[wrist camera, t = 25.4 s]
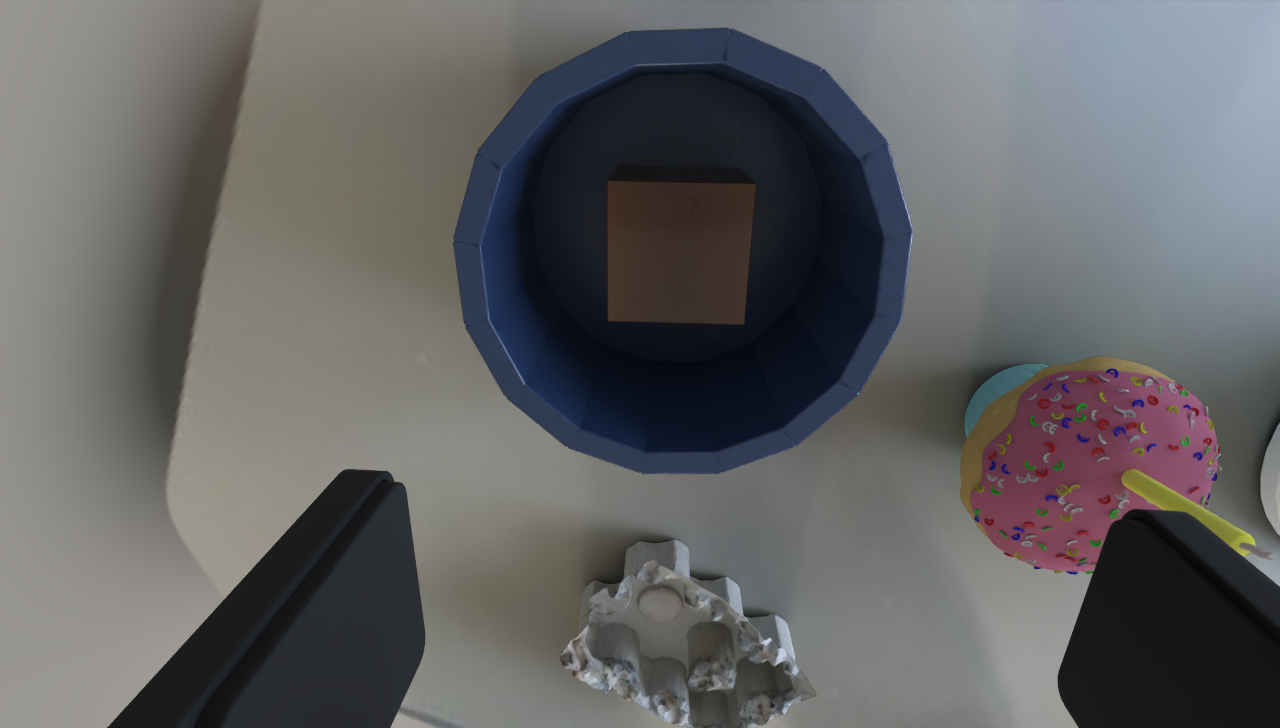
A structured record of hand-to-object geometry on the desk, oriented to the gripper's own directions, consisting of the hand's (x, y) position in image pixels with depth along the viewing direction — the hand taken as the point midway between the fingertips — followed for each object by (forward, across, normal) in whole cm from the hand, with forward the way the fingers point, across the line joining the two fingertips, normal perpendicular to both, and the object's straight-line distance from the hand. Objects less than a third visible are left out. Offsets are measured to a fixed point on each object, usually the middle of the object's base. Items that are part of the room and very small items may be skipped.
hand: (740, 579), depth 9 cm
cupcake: (+19, -14, +6) cm, 25 cm away
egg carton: (+19, 0, +18) cm, 26 cm away
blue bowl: (+19, +1, -1) cm, 19 cm away
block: (+18, +1, -1) cm, 18 cm away
